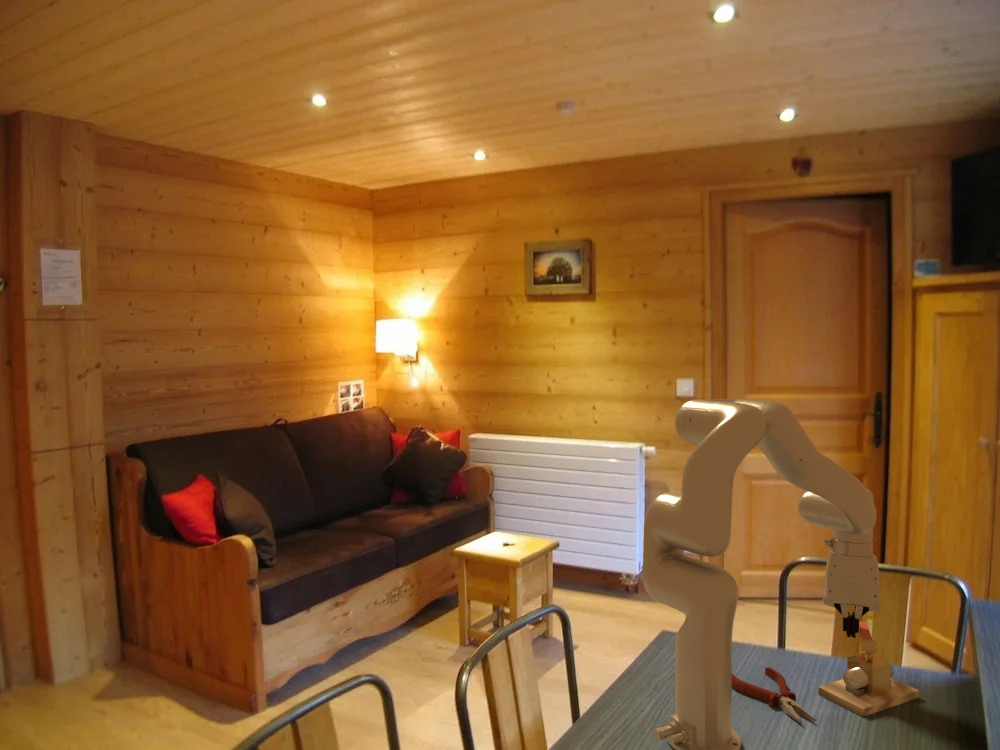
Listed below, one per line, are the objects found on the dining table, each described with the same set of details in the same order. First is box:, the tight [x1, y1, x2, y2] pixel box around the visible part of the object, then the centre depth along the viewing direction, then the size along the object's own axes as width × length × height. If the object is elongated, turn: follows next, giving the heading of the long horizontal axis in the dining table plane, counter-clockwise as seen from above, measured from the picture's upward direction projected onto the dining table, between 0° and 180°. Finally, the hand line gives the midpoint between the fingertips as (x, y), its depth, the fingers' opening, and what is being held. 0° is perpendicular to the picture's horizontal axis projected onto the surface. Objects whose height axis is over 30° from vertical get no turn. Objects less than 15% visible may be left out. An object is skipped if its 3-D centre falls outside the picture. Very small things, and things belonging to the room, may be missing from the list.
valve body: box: [842, 652, 895, 697], centre depth 145 cm, size 10×6×7 cm, turn 116°
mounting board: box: [817, 677, 920, 718], centre depth 145 cm, size 16×10×2 cm, turn 116°
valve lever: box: [858, 620, 878, 655], centre depth 149 cm, size 12×3×2 cm, turn 160°
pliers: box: [732, 666, 816, 725], centre depth 144 cm, size 11×20×3 cm, turn 14°
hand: (850, 635), depth 152 cm, fingers closed
